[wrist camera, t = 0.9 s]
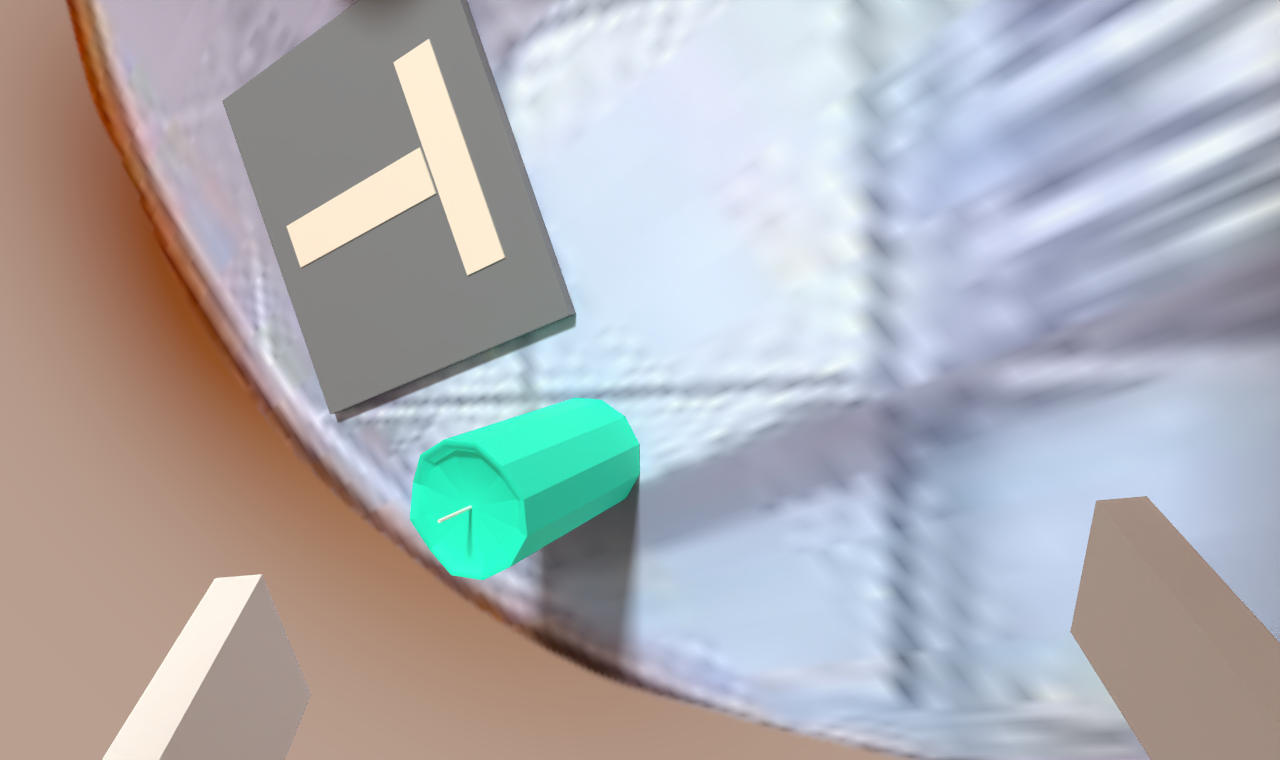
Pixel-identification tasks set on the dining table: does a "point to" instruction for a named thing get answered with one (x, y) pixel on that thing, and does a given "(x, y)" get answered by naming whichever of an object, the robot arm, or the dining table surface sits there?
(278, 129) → the letter pad
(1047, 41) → the dining table surface
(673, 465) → the dining table surface
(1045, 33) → the dining table surface
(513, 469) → the candle
